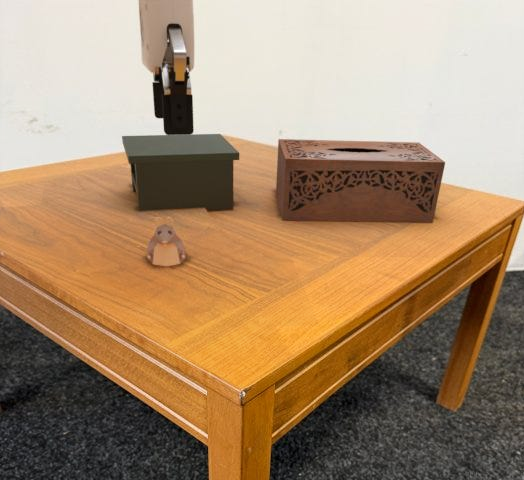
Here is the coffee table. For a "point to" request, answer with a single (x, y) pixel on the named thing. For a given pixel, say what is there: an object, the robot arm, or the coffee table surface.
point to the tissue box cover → (357, 181)
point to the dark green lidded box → (181, 171)
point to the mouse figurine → (165, 244)
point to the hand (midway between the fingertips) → (173, 125)
